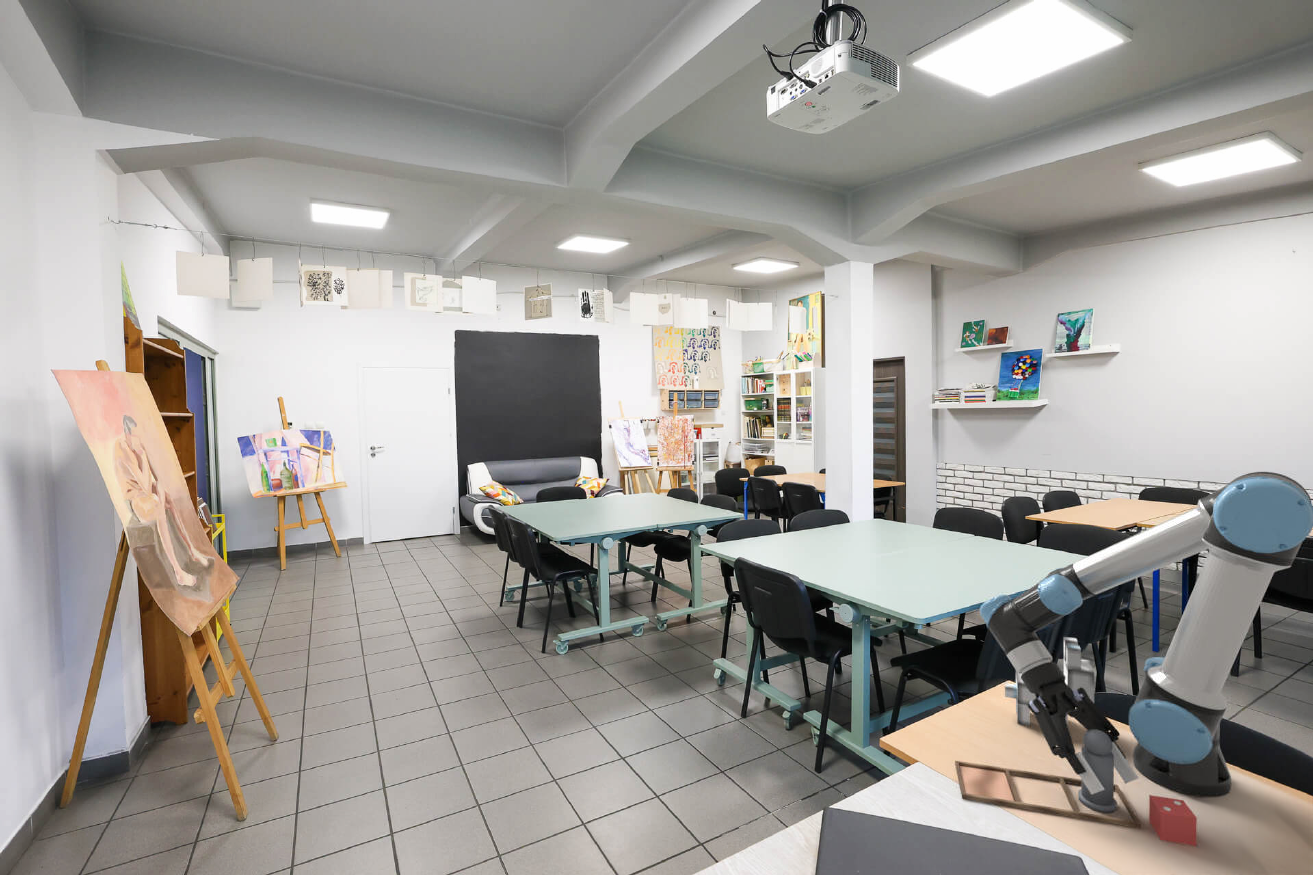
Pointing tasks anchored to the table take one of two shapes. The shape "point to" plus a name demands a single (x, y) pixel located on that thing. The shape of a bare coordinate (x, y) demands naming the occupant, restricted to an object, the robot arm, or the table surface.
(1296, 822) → the table surface
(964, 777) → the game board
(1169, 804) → the red die
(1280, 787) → the table surface
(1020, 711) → the toy llama
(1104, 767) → the pawn
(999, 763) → the table surface
